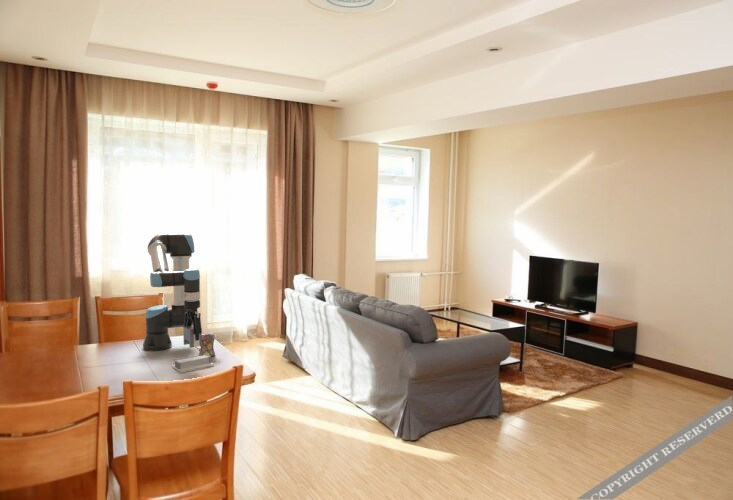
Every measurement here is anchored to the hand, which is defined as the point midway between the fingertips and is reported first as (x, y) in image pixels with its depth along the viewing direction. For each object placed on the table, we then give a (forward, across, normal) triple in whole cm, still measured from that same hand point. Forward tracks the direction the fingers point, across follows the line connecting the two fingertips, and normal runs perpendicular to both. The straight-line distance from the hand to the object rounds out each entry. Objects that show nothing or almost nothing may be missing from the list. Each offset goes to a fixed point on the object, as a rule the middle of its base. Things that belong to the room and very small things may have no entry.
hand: (192, 344), depth 262 cm
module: (0, 0, 0) cm, 0 cm away
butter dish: (+11, 0, 0) cm, 11 cm away
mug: (+12, -14, +12) cm, 22 cm away
